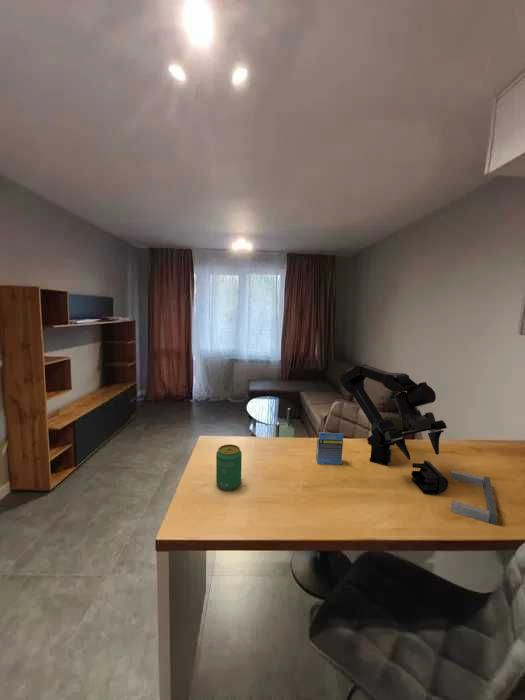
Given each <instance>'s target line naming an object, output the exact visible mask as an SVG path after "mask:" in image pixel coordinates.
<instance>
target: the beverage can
mask: <svg viewBox="0 0 525 700" xmlns="http://www.w3.org/2000/svg"><path fill="white" fill-rule="evenodd" d="M242 453H243V452H242V450H241V449H240V447H239V445H236V444H224V445H221V446H219V447H218V449H217V451H216V454H215V455H216V456H215V457H216V458H215V463H216V469H215V470H216V471H215V472H216V475H215V477H216V478H215V479H216V480H215V481H216V482H215V483H216V485H217V487H218V488H219V489H220V490H222V491H223V490H224V491H234V490H236V489H238V488H239V487H240V485H241V483H242Z"/></svg>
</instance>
